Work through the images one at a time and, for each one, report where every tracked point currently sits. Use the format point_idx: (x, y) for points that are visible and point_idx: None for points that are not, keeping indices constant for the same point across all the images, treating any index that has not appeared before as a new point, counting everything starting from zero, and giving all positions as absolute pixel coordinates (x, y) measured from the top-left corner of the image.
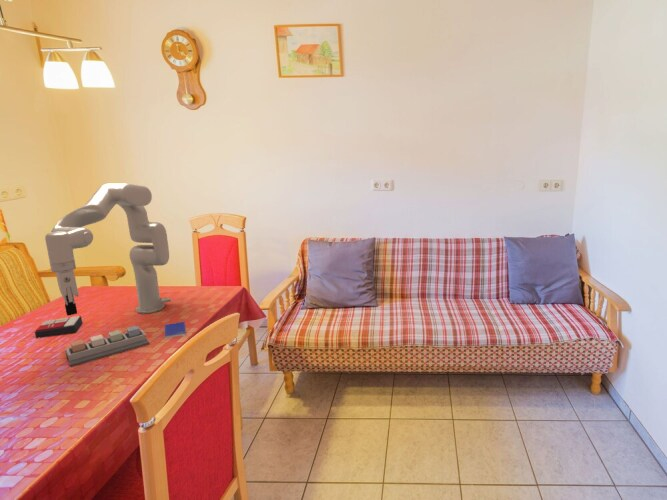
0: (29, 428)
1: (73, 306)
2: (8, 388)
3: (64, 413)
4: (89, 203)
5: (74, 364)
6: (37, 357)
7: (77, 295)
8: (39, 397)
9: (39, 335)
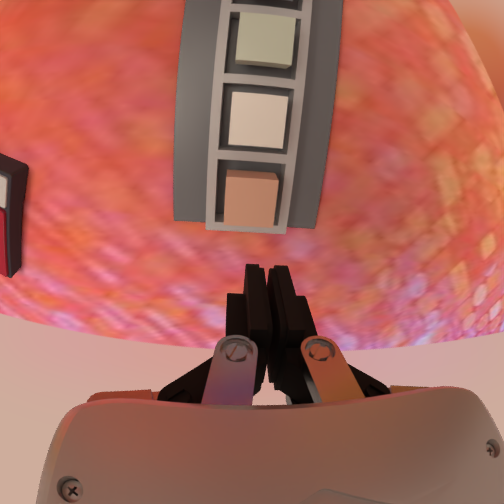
0: (467, 317)
1: (314, 331)
2: None
3: (483, 275)
4: None
5: (315, 216)
6: (158, 287)
7: (478, 401)
8: (404, 305)
9: (17, 263)
